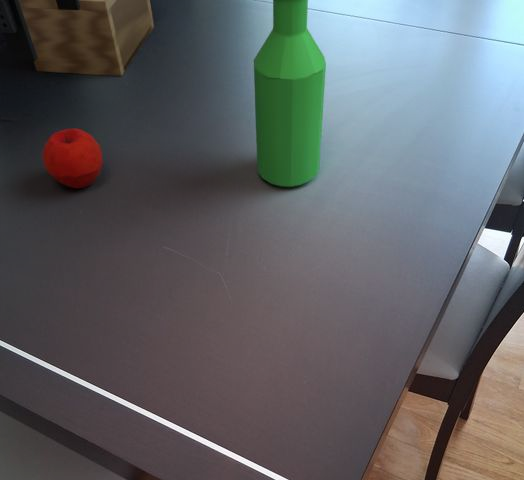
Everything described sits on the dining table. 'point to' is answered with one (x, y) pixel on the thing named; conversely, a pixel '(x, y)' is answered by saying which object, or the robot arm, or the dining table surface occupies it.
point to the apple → (73, 158)
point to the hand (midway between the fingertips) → (48, 32)
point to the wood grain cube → (87, 35)
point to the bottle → (289, 98)
